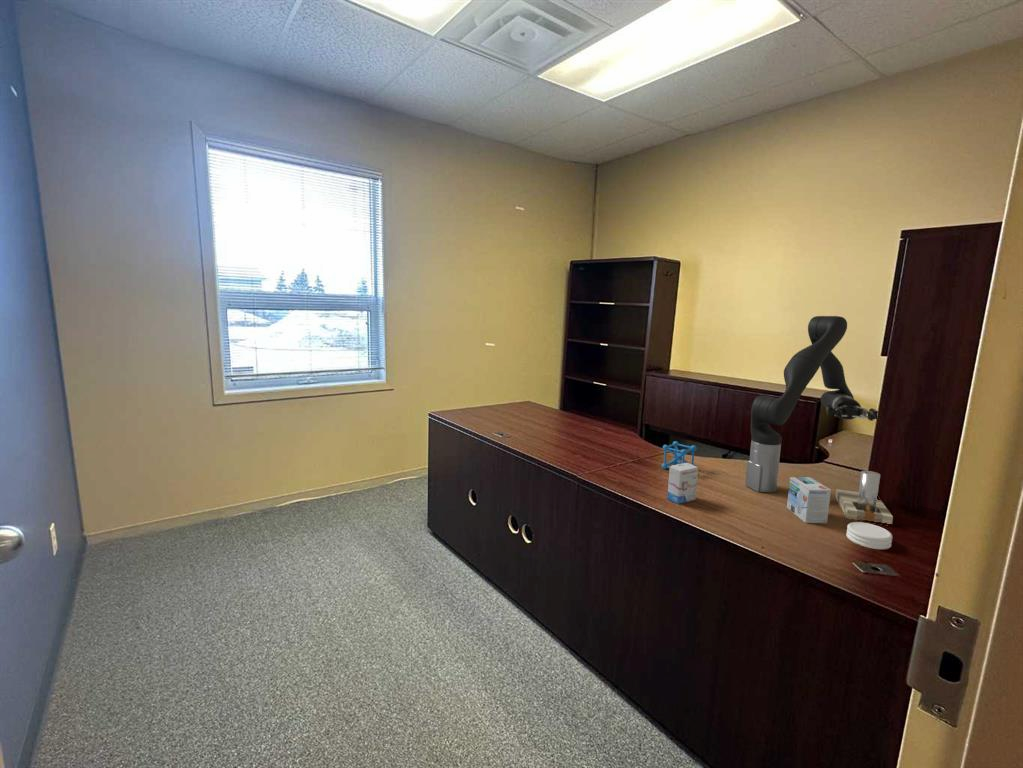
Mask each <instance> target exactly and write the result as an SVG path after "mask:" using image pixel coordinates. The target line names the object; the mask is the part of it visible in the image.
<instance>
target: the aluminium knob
mask: <svg viewBox="0 0 1023 768" xmlns="http://www.w3.org/2000/svg"><path fill="white" fill-rule="evenodd" d="M880 479H881V474H880V473H879V472H876V471H872V470H861V473H860V480H859V486H858V487H859V488H858V492H859V494H858V501H857V509H858V510H864V511H865V512H870V513H874V512H875V510H876V503H877V496H878V494H879V488H880V487H879V486H880ZM878 497H879V496H878Z"/></svg>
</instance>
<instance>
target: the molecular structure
mask: <svg viewBox="0 0 1023 768" xmlns="http://www.w3.org/2000/svg"><path fill="white" fill-rule="evenodd" d="M672 447H674V448H672ZM678 447H684V448H686V449H684V448H683V449H679V448H678ZM662 450H664V454H663V455H664V457H663V463H662V464H661V468H662V469H663V470H666V469H670V467H671V466H672V465H677V464H683V463H689V462H688V461H687V460H685V456H686V455H687V454H688V453H690V452H691V464H692V465H694V466H696V464H694V462H695V461H694V460H695V451H697V446H696V445H694V444H693V445H691V446H690V445H685V444H681V443H679V442H678V441H676V440H675V441H673V442H672V444H669V445H667V444H663V446H662ZM667 451H668V452H670V453H671V454H672V455H673V458H672V460H671V461H669V462H667ZM670 465H671V466H670Z"/></svg>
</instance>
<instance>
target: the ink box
mask: <svg viewBox="0 0 1023 768" xmlns="http://www.w3.org/2000/svg"><path fill="white" fill-rule="evenodd" d="M694 465H695V464H694ZM694 465H692V463H689V462H688V463H685V462H684V463H683V464H676V465H674V464H671V466H669V467H670V468H669V474H668V482H667V483H668V486H667V495H666V496H667V497H666V498H667V500H669V501H671V502H673V503H675V504H677V505H680V504H683V503H687V502H690V501H694V500H696V498H697V497H696V496H697V495H696V494H697V486H698V485H697V484H698V476H699V466H696V465H695V466H694Z"/></svg>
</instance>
